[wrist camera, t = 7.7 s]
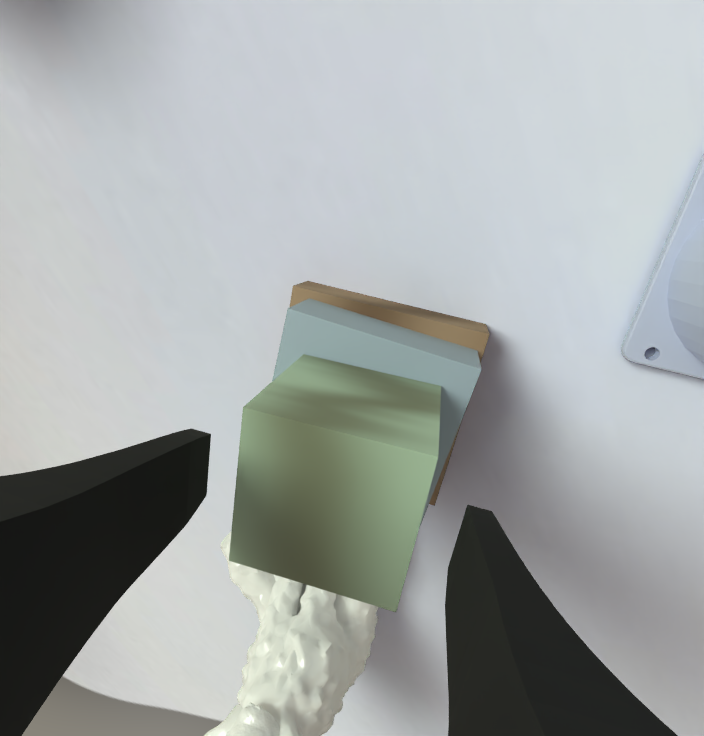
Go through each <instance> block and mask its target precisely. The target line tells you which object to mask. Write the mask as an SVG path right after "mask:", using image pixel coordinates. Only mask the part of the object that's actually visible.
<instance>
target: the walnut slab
mask: <svg viewBox="0 0 704 736" xmlns="http://www.w3.org/2000/svg"><path fill="white" fill-rule="evenodd" d="M309 298H310V299H313V300H317V301H320V302H323V303H326V304H329V305H333V306H336V307H339V308H342V309H346V310H349V311H352V312H355V313H358V314H362V315H365V316H368V317H371V318H374V319H378V320H381V321H384V322H387V323H391V324H394V325H397V326H400V327H403V328H407V329H410V330H413V331H416V332H419V333H423V334H426V335H429V336H432V337H436V338H439V339H442V340H445V341H448V342H452V343H455V344H458V345H461V346H464V347H468V348H471V349H474V350H477V351H478V356H479V360H480V362H481V359H482V356H483V353H484V350H485V347H486V344H487V341H488V337H489V332H488V329H487V326H486V324H483V323H478V322H474V321H470V320H466V319H462V318H458V317H454V316H450V315H446V314H441V313H437V312H433V311H429V310H425V309H421V308H417V307H413V306H409V305H404V304H400V303H396V302H392V301H388V300H384V299H380V298H376V297H372V296H367V295H363V294H359V293H355V292H351V291H347V290H343V289H339V288H335V287H330V286H326V285H322V284H318V283H314V282H310V281H306V282H303V283H300V284H297V285H294V286H293V289H292V296H291V302H290V307H292V306H294V305H296V304H298V303H300V302H302V301H304V300H307V299H309ZM461 422H462V421H461ZM460 425H461V423H460ZM459 428H460V426H459ZM459 428H458V431H459ZM458 431H457V433H456V436H455V438H454V441H453V444H452V446H451V449H450V451H449V454H448V456H447V459H446V461H445V464H444V466H443V469H442V472H441V474H440V477H439V479H438V482H437V484H436V487H435V489H434V492H433V495H432V497H431V500H430V502H429V504H431V505H434V506H435V503H436V499H437V496H438V493H439V490H440V487H441V484H442V481H443V478H444V474H445V471H446V468H447V465H448V462H449V459H450V456H451V453H452V450H453V446H454V443H455V440H456V437H457V434H458Z"/></svg>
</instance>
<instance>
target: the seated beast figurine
mask: <svg viewBox="0 0 704 736" xmlns="http://www.w3.org/2000/svg"><path fill="white" fill-rule="evenodd" d="M231 532H232V531H231ZM231 532H230V533H229V534H228V535H227V536H226V537H225V538H224V540H223V541H222V543H221V545H220V546H221V549H222V552H223V554H224V556H225V557H226V559H227V562H228V568H229V573H230V578H231V580H232V582H233V583H234V584H236V585H237V586H239V588H240V589H241V591H242V593H243V595H244V596H245V597H246V598H247V599H249V600H251V601H252V603H253V604H254V606H255V607H256V609H257V614H258V618H259V620H260V623H261V624H260V627H259V629H258V633H257V635H256V641H255V642H254V643H253V644H252V645H251V646H250V647H249V649H248V653H247V662H248V663H247V664H246V665H245V666H244V667H243V670H242V674H243V679H242V682H243V686H242V687H241V689H240V690H239V692H238V695H237V700H238V703H239V704H238V705H236V706H235V707H234V708H233V710H232V711H231V712H230V714H229V715H228V717H227V718H226V719H225V720H224V721H223V722H222V723H221V724H220V725H219V726H217V727H215V728H213V729H212V730H210V731H208V732H207V733H206V734H205V735H204V736H321V735H322V734H324V733H326V732H327V731H328V730H329V729H330V727H331V726H332V725H333V721H334V716H335V714H337V713H338V712H340V711H341V709H342V707H343V702H342V699H343V697H344V696H345V693H346V692H347V691H348V689H349V687H351V686H352V685H354V682H355V680H356V678H357V677H358V676H359V675H360V674H361V673H362V672H363V671H364V668H365V665H366V659H367V658H368V657H369V656H370V649H371V643H372V641H373V640H374V638H375V626H376V624H377V621H378V617H377V616H376V612H377V609H378V608H379V607H377V606H374V605H371V604H368V603H364V602H361V601H358V600H355V599H351V598H348V597H345V596H342V595H338V594H335V593H332V592H329V591H325V590H322V589H319V588H316V587H312V586H309V585H306V584H303V583H300V582H296V581H293V580H290V579H287V578H283V577H280V576H277V575H274V574H270V573H267V572H264V571H261V570H257V569H254V568H251V567H248V566H245V565H241V564H238V563H235V562H232V561H229V553H230V542H231Z"/></svg>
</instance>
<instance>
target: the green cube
mask: <svg viewBox="0 0 704 736" xmlns="http://www.w3.org/2000/svg"><path fill="white" fill-rule="evenodd" d="M440 403H441V386H439V385H434V384H430V383H426V382H422V381H417V380H413V379H409V378H404V377H400V376H396V375H391V374H387V373H383V372H378V371H374V370H370V369H365V368H361V367H357V366H353V365H348V364H344V363H340V362H335V361H331V360H327V359H322V358H318V357H314V356H309V355H305V354H303V355H302V356H301V357H300V358H299V359H298V360H296V361H295V362H294V363H293V364H292V365H291V366H290V367H288V368H287V369H286V370H285V371H284V372H283V373H282V374H280V375H279V376H278V377H277V378H276V379H275V380H274V381H273V382H271V383H270V384H269V385H268V386H267V387H266V388H265V389H263V390H262V391H261V392H260V393H259V394H258V395H257V396H255V397H254V398H253V399H252V400H251V401H250V402H249V403H247V404H246V405H245V406H244V407H243V415H242V425H241V436H240V447H239V457H238V468H237V478H236V489H235V500H234V510H233V521H232V532H231V542H230V553H229V561H232V562H235V563H238V564H241V565H245V566H248V567H251V568H254V569H257V570H261V571H264V572H267V573H270V574H274V575H277V576H280V577H283V578H287V579H290V580H293V581H296V582H300V583H303V584H306V585H309V586H312V587H316V588H319V589H322V590H325V591H329V592H332V593H335V594H338V595H342V596H345V597H348V598H351V599H355V600H358V601H361V602H364V603H368V604H371V605H374V606H377V607H380V608H384V609H387V610H390V611H393V612H396V611H397V607H398V603H399V600H400V596H401V592H402V589H403V585H404V581H405V578H406V574H407V570H408V567H409V563H410V559H411V556H412V552H413V548H414V545H415V541H416V537H417V534H418V530H419V526H420V523H421V519H422V515H423V512H424V508H425V504H426V501H427V497H428V493H429V490H430V486H431V482H432V479H433V475H434V471H435V468H436V464H437V460H438V454H439V429H440Z"/></svg>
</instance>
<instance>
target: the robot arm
mask: <svg viewBox="0 0 704 736" xmlns="http://www.w3.org/2000/svg"><path fill="white" fill-rule="evenodd" d="M651 347H654V348H655V349H656V350H655V354H654V355H653V356H651V357H649V358H645V356H644V354H645V351H646V350H647V349H648V348H651ZM621 352H622V355H623V356H624V357H625V358H626V359H627V360H629V361H631V362H634V363H638V364H642V365H646V366H651V367H655V368H659V369H663V370H667V371H671V372H676V373H680V374H684V375H688V376H692V377H696V378H700V379H704V154H703V156H702V159H701V161H700V163H699V166H698V168H697V170H696V173H695V175H694V177H693V180H692V182H691V184H690V187H689V189H688V191H687V194H686V196H685V198H684V201H683V203H682V205H681V208H680V210H679V213H678V215H677V217H676V220H675V222H674V224H673V227H672V229H671V231H670V234H669V236H668V238H667V241H666V243H665V245H664V248H663V250H662V252H661V255H660V257H659V259H658V262H657V264H656V266H655V269H654V271H653V273H652V276H651V278H650V280H649V283H648V285H647V287H646V290H645V292H644V295H643V297H642V299H641V302H640V304H639V306H638V309H637V311H636V313H635V316H634V318H633V320H632V323H631V325H630V327H629V330H628V332H627V334H626V337H625V339H624V341H623V344H622V347H621ZM210 438H211V434H209V433H205V432H201V431H198V430H194V429H188V430H183V431H179V432H176V433H172V434H169V435H166V436H163V437H159V438H156V439H153V440H150V441H147V442H143V443H140V444H137V445H134V446H131V447H128V448H124V449H121V450H118V451H114V452H111V453H107V454H103V455H100V456H96V457H93V458H89V459H85V460H82V461H78V462H74V463H70V464H66V465H61V466H57V467H52V468H47V469H42V470H37V471H32V472H26V473H21V474H14V475H7V476H0V736H22V734H23V732H24V731H25V729H26V728H27V727H28V725H29V724H30V722H31V721H32V719H33V718H34V716H35V715H36V713H37V712H38V710H39V709H40V707H41V706H42V705H43V703H44V702H45V700H46V699H47V697H48V696H49V694H50V693H51V691H52V690H53V688H54V687H55V685H56V684H57V682H58V681H59V680H60V678H61V677H62V675H63V674H64V673H65V671H66V670H67V668H68V667H69V666H70V664H71V663H72V661H73V660H74V659H75V657H76V656H77V654H78V653H79V652H80V650H81V649H82V647H83V646H84V645H85V643H86V642H87V640H88V639H89V638H90V636H91V635H92V634H93V632H94V631H95V630H96V629H97V627H98V626H99V625H100V623H101V622H102V621H103V619H104V618H105V617H106V615H107V614H108V613H109V611H110V610H111V609H112V607H113V606H114V605H115V604H116V602H117V601H118V600H119V599H120V598H121V596H122V595H123V594H124V593H125V592H126V590H127V589H128V588H129V587H130V586H131V585H132V584H133V583H134V582H135V581H136V579H137V578H138V577H139V576H140V575H141V574H142V573H143V572H144V571H145V570H146V569H147V567H148V566H149V565H150V564H151V563H152V562H153V561H154V560H155V559H156V558H157V557H158V555H159V554H160V553H161V552H162V551H163V550H164V549H165V548H166V547H167V546H168V544H169V543H170V542H171V541H172V540H173V539H174V538H175V537H176V536H177V534H178V533H179V532H180V531H181V530H182V529H183V528H184V526H185V525H186V524H187V523H188V521H189V520H190V519H191V517H192V516H193V514H194V513H195V512H196V510H197V509H198V507H199V506H200V504H201V503H202V501H203V500H204V498H205V497H206V494H207V480H208V466H209V452H210ZM445 616H446V642H447V666H448V690H449V731H448V736H677V735H676V734H675V733H674V732H673V731H672V730H671V729H670V728H669V727H667V726H666V725H665V724H664V723H663V722H662V721H661V720H660V719H659V718H657V717H656V716H655V715H654V714H653V713H652V712H651V711H650V710H649V709H648V708H647V707H646V706H645V705H644V704H643V703H642V702H641V701H639V700H638V699H637V698H636V697H635V696H634V695H633V694H632V693H631V692H630V691H629V690H628V689H627V688H626V687H625V686H624V685H623V684H622V683H621V682H620V681H619V680H618V679H617V677H616V676H615V675H614V674H613V673H612V672H611V671H610V670H609V669H608V668H607V667H606V666H605V665H604V664H603V663H602V662H601V661H600V660H599V659H598V658H597V657H596V655H595V654H594V653H593V652H592V651H591V650H590V649H589V648H588V647H587V645H586V644H585V643H584V642H583V641H582V640H581V638H580V637H579V636H578V635H577V634H576V633H575V631H574V630H573V629H572V628H571V627H570V626H569V624H568V623H567V622H566V621H565V620H564V618H563V617H562V616H561V615H560V613H559V612H558V611H557V610H556V608H555V607H554V606H553V604H552V603H551V602H550V600H549V599H548V597H547V596H546V595H545V593H544V592H543V591H542V589H541V588H540V587H539V585H538V584H537V582H536V581H535V580H534V578H533V577H532V575H531V574H530V572H529V571H528V569H527V568H526V566H525V565H524V563H523V562H522V560H521V559H520V557H519V555H518V554H517V552H516V551H515V549H514V547H513V546H512V544H511V542H510V541H509V539H508V537H507V536H506V534H505V532H504V531H503V529H502V527H501V526H500V524H499V522H498V521H497V519H496V517H495V516H494V514H493V513H492V511H489V510H485V509H481V508H478V507H474V506H470V505H467V509H466V512H465V515H464V518H463V521H462V525H461V528H460V531H459V534H458V538H457V541H456V544H455V547H454V550H453V554H452V557H451V560H450V563H449V567H448V576H447V587H446V601H445Z"/></svg>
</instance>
